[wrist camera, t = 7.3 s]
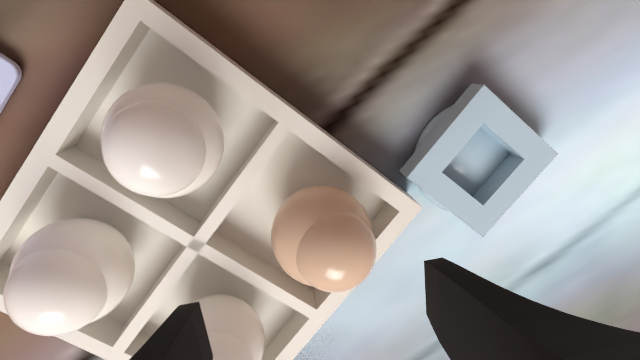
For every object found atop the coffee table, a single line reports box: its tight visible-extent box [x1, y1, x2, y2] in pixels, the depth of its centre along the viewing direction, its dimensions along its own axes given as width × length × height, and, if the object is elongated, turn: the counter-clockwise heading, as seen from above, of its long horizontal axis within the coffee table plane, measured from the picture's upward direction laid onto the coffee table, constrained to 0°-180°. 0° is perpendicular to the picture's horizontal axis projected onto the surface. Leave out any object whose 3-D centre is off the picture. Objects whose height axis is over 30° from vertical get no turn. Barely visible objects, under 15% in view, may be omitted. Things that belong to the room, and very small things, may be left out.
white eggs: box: [3, 82, 265, 360], centre depth 17 cm, size 12×12×5 cm
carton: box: [0, 0, 422, 360], centre depth 19 cm, size 15×15×2 cm
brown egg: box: [271, 185, 377, 293], centre depth 17 cm, size 5×5×5 cm
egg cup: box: [399, 83, 558, 237], centre depth 20 cm, size 6×6×2 cm
